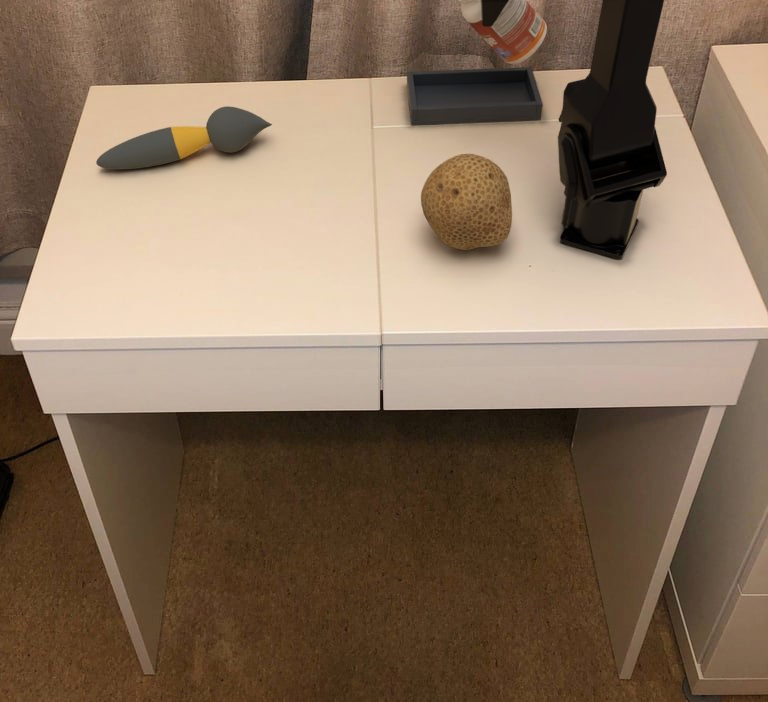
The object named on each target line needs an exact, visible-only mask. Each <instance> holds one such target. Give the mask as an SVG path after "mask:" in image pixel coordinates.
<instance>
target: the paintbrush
mask: <svg viewBox="0 0 768 702" xmlns="http://www.w3.org/2000/svg"><path fill="white" fill-rule="evenodd" d="M272 125H273V123H270V122H269V121H267V120H266V119H264V118H262V117H261V116H259V115H257V114H255V113H253V112H251V111H250V110H249V111H248V110H246V109H243V108H240V107H236V106H227V105H226V106H222V107H219V108H217V109H216V110H214V111H213V112H212V113H211V114H210V116H209V117H208V119H207V121H206V125H205V126H190V125H189V126H185V125H184V126H183V125H182V126H168V127H164V128H159V129H156V130H152V131H150V132H146V133H143V134H140V135H137V136H134V137H132V138H130V139H128V140H125V141H122V142H121V143H119V144H116V145H115V146H113V147H111V148H109V149H108V150H105V152H103V153H102V154H100V156H98V158H97V159H96V161H95V162H96V163H95V164H96V165H97V166H98V167H100V168H102V169H109V170H132V169H142V168H150V167H156V166H160V165H164V164H169V163H173V162H176V161H177V162H178V161H179V160H182V159H185V158H187V157H188V156H190V155H193V154H194V153H196V152H197V151H200V150H201V149H202V148H204V147H206V146H208V145H209V144H211V145H212V146H213V148H215V149H217V150H219V151H221V152H224V153H236V152H237V153H238V152H240V151H241V150H243V149H244V148H245V147H246V146H247V145H249V144H250V143H251V141H253V139H255V137H256V136H257V135H258V134H259V133H261V132H262V131H263V130H265V129H267V128H269V127H271V126H272Z"/></svg>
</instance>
